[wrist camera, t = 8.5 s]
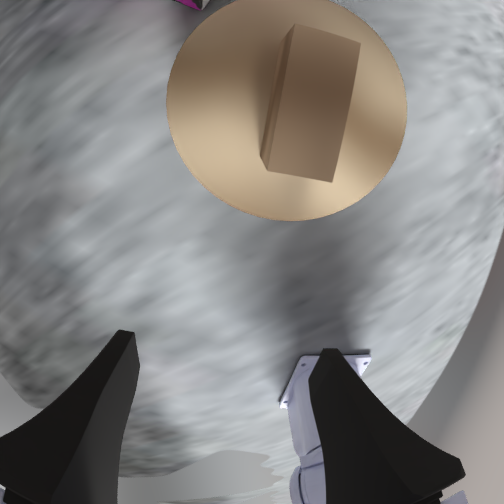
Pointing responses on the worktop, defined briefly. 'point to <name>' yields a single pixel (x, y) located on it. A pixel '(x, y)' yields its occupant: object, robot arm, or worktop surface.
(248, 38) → the lid
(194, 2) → the candy bar box
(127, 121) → the worktop surface
